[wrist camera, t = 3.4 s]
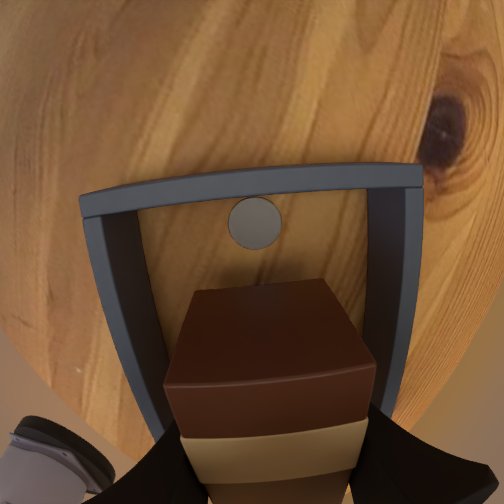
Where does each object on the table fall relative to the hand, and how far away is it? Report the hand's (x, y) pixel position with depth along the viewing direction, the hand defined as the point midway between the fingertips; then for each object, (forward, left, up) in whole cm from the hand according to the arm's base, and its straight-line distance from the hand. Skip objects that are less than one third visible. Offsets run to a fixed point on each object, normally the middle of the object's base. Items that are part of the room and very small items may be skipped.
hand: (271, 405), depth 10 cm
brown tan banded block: (0, 0, -1) cm, 1 cm away
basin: (0, +1, -4) cm, 4 cm away
